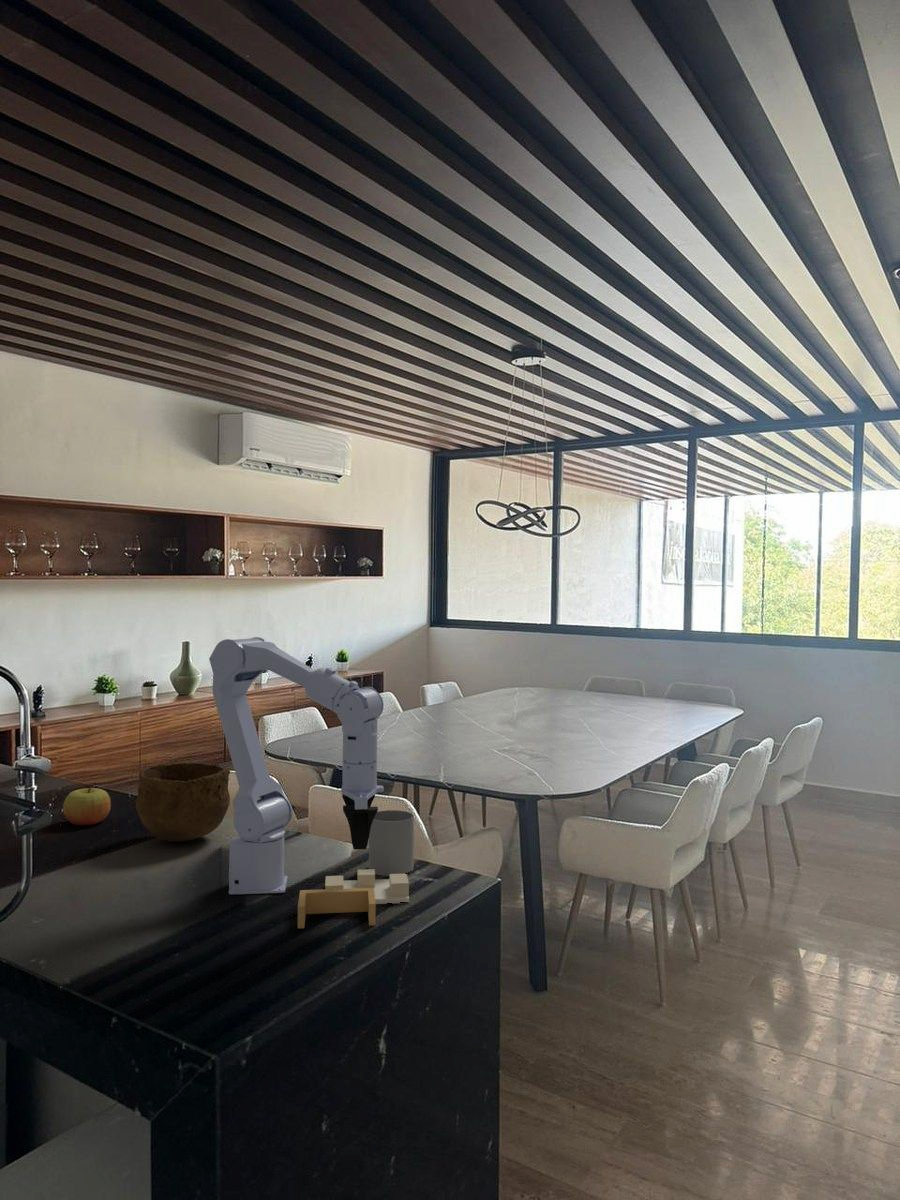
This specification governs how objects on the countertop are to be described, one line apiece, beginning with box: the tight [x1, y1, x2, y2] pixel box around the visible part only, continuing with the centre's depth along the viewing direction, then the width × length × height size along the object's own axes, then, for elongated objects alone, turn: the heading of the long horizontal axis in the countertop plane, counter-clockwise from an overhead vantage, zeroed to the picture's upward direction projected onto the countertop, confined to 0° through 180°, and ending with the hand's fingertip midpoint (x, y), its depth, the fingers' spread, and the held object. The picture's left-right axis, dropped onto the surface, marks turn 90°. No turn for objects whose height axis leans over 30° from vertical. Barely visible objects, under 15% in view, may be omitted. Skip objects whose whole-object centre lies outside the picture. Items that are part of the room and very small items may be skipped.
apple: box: [62, 787, 112, 826], centre depth 194 cm, size 10×10×8 cm
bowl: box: [135, 761, 231, 843], centre depth 181 cm, size 19×19×15 cm
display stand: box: [324, 868, 410, 905], centre depth 149 cm, size 10×14×3 cm
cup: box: [368, 809, 415, 877], centre depth 163 cm, size 8×8×10 cm
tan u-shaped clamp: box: [297, 888, 377, 929], centre depth 138 cm, size 7×12×3 cm, turn 97°
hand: (359, 842), depth 145 cm, fingers open, 7 cm apart
